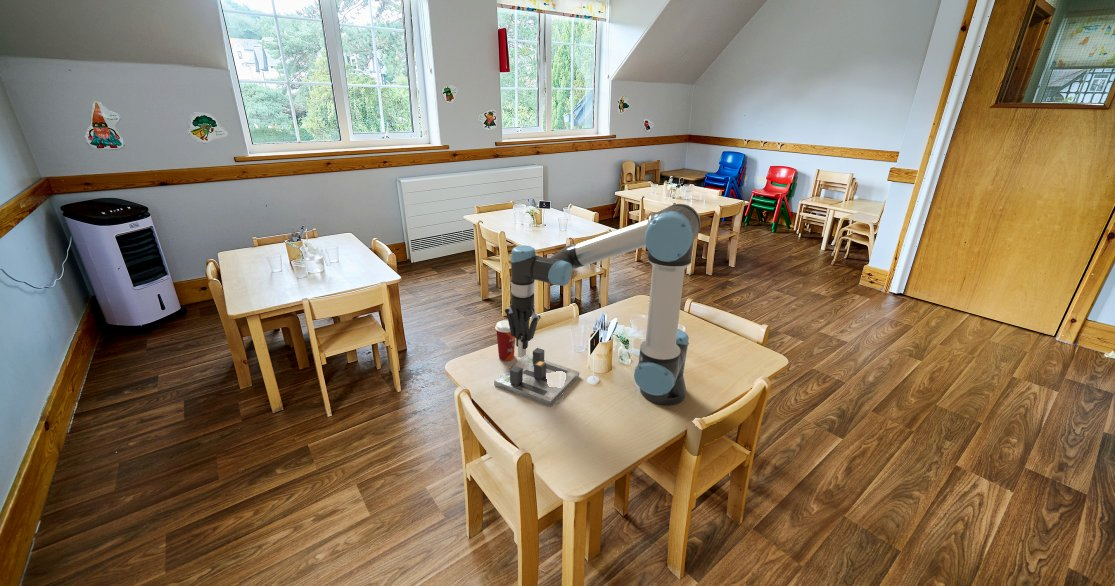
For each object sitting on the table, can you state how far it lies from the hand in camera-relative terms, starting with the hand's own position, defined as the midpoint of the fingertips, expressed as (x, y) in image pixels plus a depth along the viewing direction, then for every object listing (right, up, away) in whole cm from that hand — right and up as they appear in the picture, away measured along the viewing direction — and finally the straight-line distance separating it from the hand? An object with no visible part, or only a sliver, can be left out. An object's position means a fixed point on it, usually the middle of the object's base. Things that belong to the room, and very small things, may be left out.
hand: (521, 355), depth 162 cm
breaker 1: (-2, -8, -4) cm, 9 cm away
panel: (+5, -9, +1) cm, 10 cm away
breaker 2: (+5, -4, +7) cm, 9 cm away
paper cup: (-7, -3, +14) cm, 16 cm away
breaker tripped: (+6, -7, -1) cm, 9 cm away
